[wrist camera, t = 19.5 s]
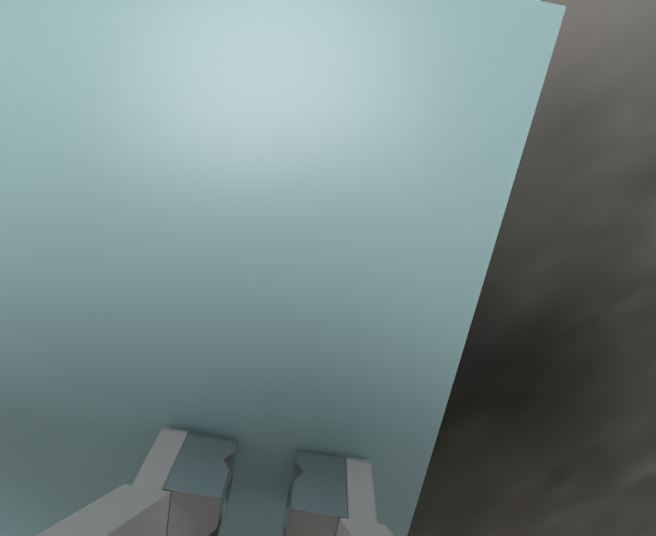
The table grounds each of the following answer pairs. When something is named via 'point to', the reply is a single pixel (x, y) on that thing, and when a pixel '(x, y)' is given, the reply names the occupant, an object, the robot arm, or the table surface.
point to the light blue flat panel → (247, 234)
